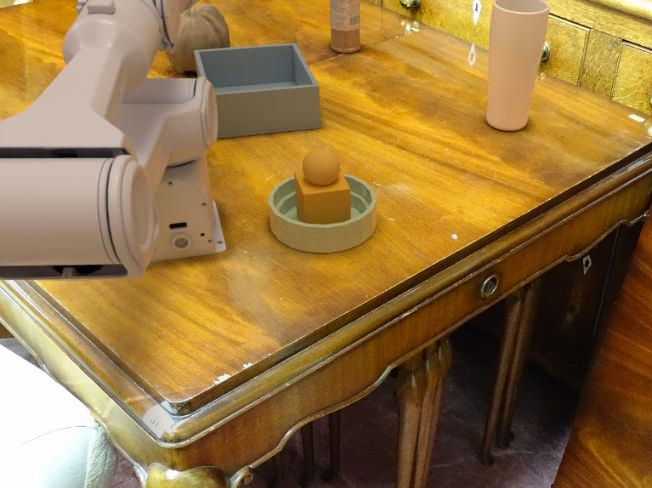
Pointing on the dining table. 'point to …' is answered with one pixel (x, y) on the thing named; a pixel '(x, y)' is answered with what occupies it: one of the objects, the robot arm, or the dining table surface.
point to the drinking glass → (514, 60)
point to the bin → (261, 89)
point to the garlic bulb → (198, 35)
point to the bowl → (320, 235)
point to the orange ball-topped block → (322, 189)
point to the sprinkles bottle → (345, 25)
